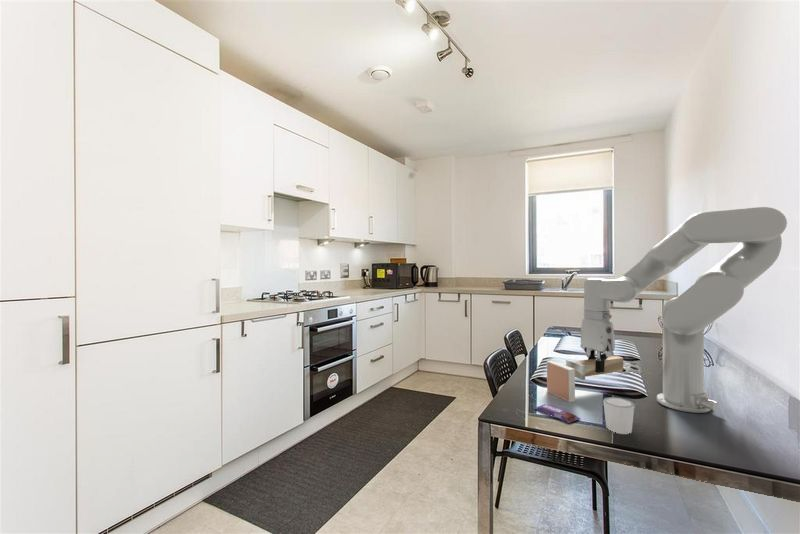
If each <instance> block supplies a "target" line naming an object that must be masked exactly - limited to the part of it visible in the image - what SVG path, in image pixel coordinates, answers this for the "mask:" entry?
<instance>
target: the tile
mask: <svg viewBox="0 0 800 534" xmlns="http://www.w3.org/2000/svg"><path fill="white" fill-rule="evenodd" d="M575 379H576V377H575V369H573V368H571V367H568V366H566V364H565V365H564V364H563V363H560V362H557V361H555V360H547V361H546V389H547V390H546V391H547V392H548V393H550V394H552V395H555V396H556V397H558V398H561V399H563V400H564V401H566V402H568V403H573V402H576V388H575V387H576V380H575Z"/></svg>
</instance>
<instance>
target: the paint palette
mask: <svg viewBox="0 0 800 534" xmlns="http://www.w3.org/2000/svg"><path fill="white" fill-rule="evenodd" d="M624 367H625V368H624ZM623 370H625V371H619V373H630V372H633V373H632V374H641V373H642V370H641V366H639V365H638V364H636V363H633V362H627V361H626V360H623ZM630 374H631V373H630Z"/></svg>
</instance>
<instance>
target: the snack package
mask: <svg viewBox="0 0 800 534" xmlns="http://www.w3.org/2000/svg"><path fill="white" fill-rule="evenodd" d="M533 409H535V410H537V412H540V411H541V412H540V413H543V412H544V413H543V414H545V413H546V415H547V414H549V415H548V416H550V415H552V416H554V417H553V418H555V417H556V418H555V419H557V418H559V419H561V420H560V421H562V420H563V421H562V422H564V421H566V422H565V423H568V424H570V423H573V422H575V421H577V420H580V419H581V417H579V416H577V415H576V414H575V413H573V412H571V411H569V410H566V409H563V408H560V407H558V406H555V405H552V404H548V403H547V404H544V403H543V404H541V405H538V406H535V407H534V408H533ZM552 416H551V417H552ZM559 419H558V420H559Z"/></svg>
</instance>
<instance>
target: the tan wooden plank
mask: <svg viewBox="0 0 800 534" xmlns="http://www.w3.org/2000/svg"><path fill="white" fill-rule="evenodd" d="M596 360H597V359H588V358H587V359H582V360H581V359H580V360H570V359H566V360H565V361H566V363H565V366H568V367H571V368H573V369H575V379H578V380H581V381H585V380H586V377H591V376H592V377H593V376H598V375H599V376H600V375H604V374H614V373H613V372H619V371H622V372H624V371H623V368H624V367H623V361H624V358H623V357H622V356H619V355H614V356H611V357H608V358H607V359H606V360H605V365H604V372H600V373H597V372H596Z"/></svg>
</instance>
